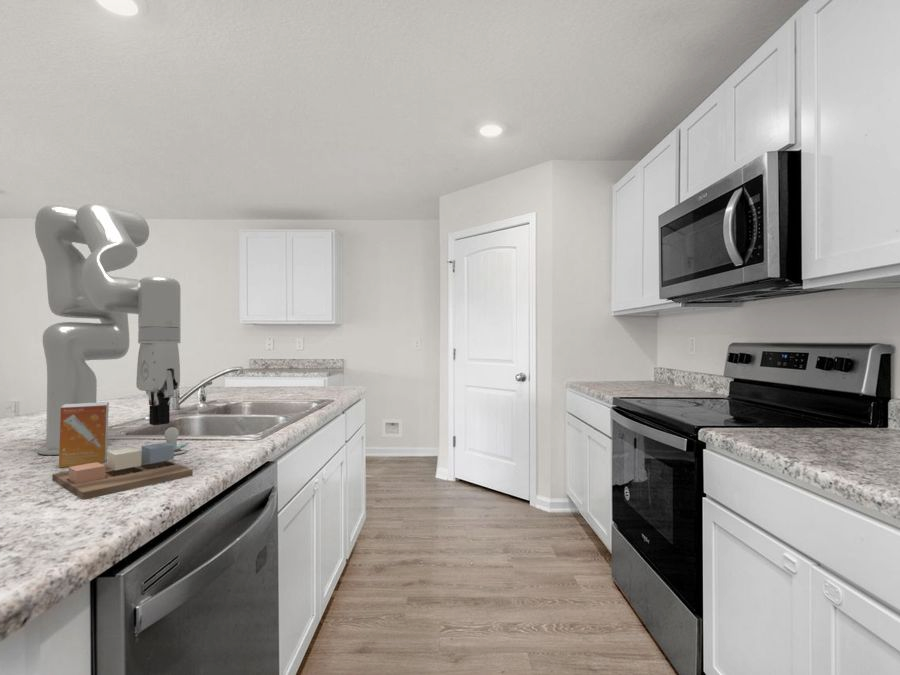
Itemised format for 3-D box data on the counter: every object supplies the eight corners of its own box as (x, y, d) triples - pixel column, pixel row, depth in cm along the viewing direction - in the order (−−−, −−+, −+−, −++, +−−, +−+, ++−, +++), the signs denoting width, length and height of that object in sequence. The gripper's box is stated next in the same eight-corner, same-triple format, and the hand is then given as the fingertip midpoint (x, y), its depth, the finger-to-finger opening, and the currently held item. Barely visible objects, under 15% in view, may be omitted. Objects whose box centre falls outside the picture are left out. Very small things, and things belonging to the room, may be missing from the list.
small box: (58, 468, 97) (59, 407, 97) (63, 461, 102) (64, 403, 102) (106, 463, 101) (106, 404, 102) (108, 457, 107) (108, 401, 107)
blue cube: (141, 460, 95) (141, 445, 95) (164, 456, 99) (164, 442, 99) (150, 463, 93) (150, 449, 93) (173, 459, 96) (173, 445, 96)
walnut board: (52, 480, 89) (52, 473, 89) (155, 461, 103) (155, 455, 103) (82, 499, 78) (83, 492, 78) (192, 475, 93) (192, 469, 93)
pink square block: (68, 483, 86) (68, 466, 86) (97, 477, 89) (97, 462, 89) (76, 487, 83) (76, 471, 83) (105, 481, 86) (105, 465, 86)
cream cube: (106, 466, 90) (107, 451, 90) (132, 461, 94) (132, 447, 94) (115, 470, 88) (115, 454, 88) (141, 465, 91) (141, 450, 91)
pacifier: (186, 456, 109) (189, 449, 115) (187, 430, 109) (189, 425, 115) (150, 459, 106) (155, 452, 112) (151, 432, 106) (155, 427, 112)
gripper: (125, 337, 97) (124, 423, 97) (155, 335, 88) (154, 430, 88) (163, 337, 103) (163, 418, 103) (195, 336, 94) (195, 424, 94)
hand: (159, 423), depth 95 cm, fingers closed
